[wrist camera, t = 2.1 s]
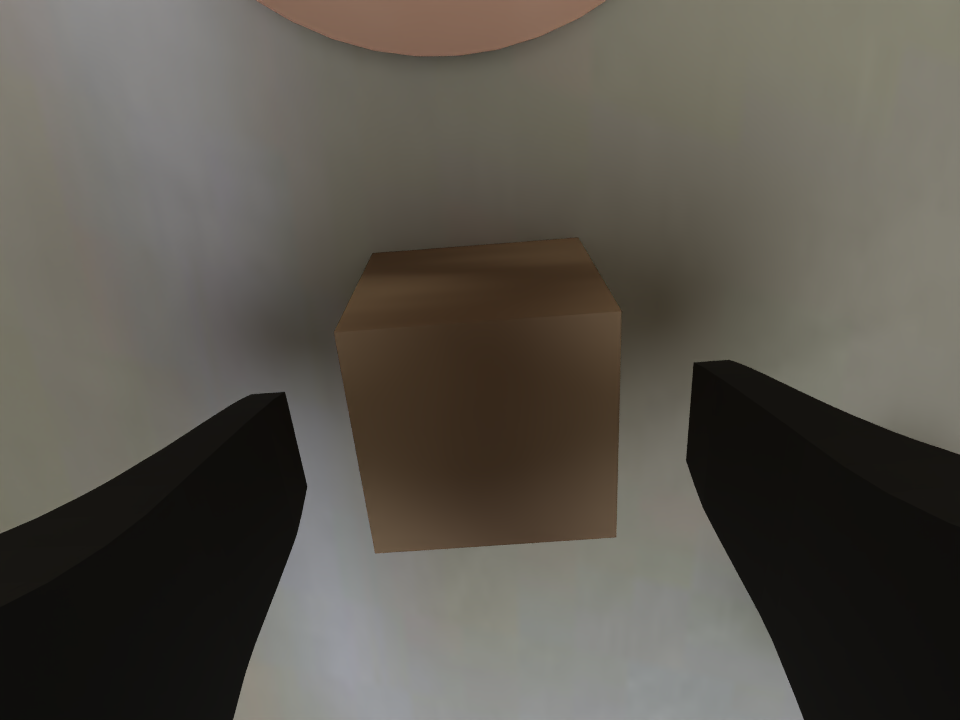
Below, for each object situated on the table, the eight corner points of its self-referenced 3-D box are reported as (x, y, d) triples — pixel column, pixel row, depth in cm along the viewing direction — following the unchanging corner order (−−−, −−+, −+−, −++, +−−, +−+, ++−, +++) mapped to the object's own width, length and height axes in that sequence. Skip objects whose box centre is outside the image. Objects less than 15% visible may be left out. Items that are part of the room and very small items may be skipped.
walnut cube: (399, 426, 16) (375, 553, 12) (373, 252, 14) (333, 332, 10) (578, 414, 16) (616, 537, 12) (577, 236, 14) (621, 311, 10)
